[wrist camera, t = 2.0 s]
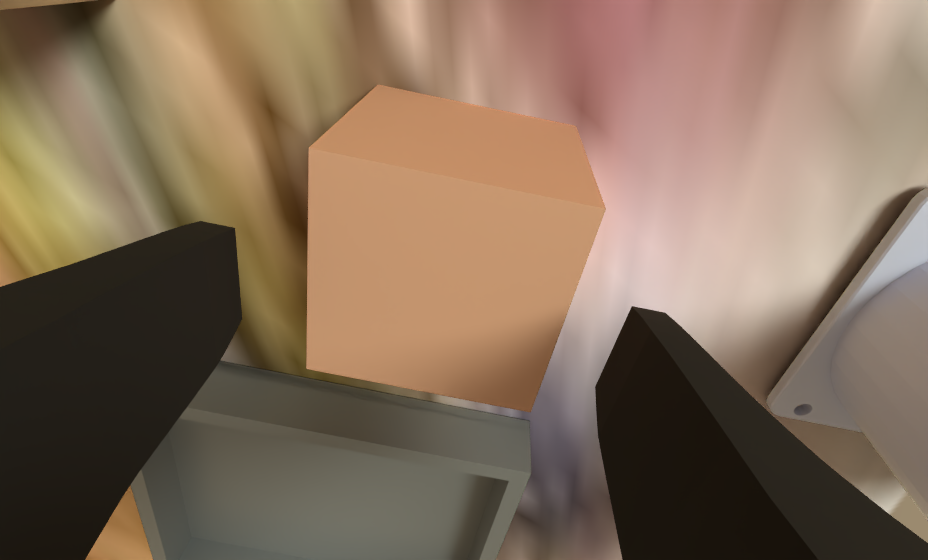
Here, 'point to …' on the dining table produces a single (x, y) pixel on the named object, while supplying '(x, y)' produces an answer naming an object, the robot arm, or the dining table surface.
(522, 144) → the terracotta block
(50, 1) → the oak block
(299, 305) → the dining table surface
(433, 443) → the tray
